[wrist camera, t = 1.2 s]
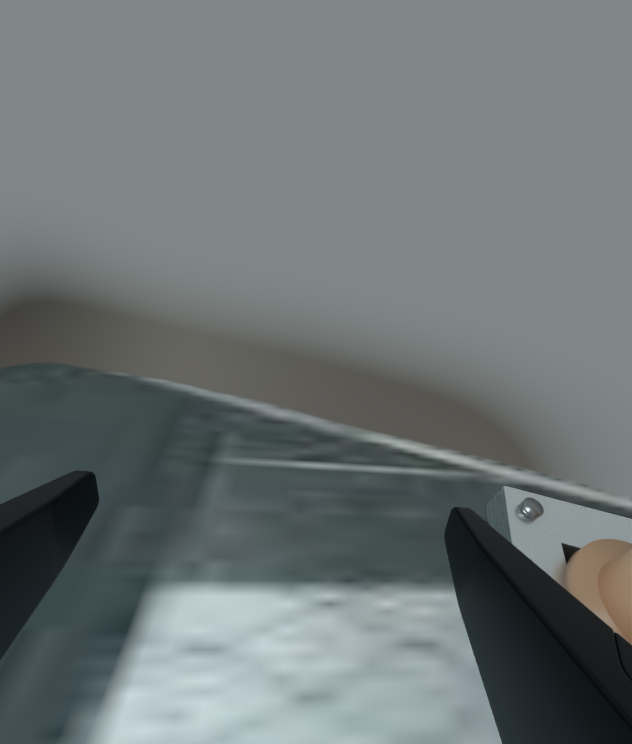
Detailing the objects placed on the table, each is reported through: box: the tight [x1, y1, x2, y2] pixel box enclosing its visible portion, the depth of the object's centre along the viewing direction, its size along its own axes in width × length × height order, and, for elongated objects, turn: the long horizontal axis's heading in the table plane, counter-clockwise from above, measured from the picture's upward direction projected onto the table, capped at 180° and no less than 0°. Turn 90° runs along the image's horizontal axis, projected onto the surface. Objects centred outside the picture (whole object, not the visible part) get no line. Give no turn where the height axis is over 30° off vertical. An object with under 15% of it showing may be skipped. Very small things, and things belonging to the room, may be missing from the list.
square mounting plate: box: [486, 486, 632, 589], centre depth 20 cm, size 12×12×4 cm
